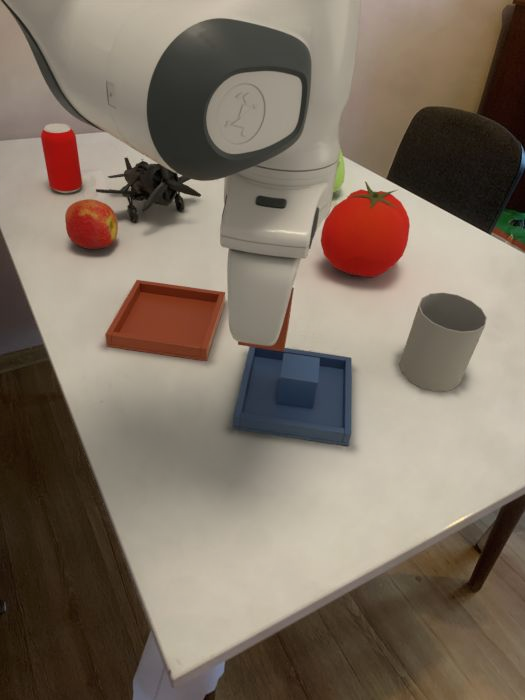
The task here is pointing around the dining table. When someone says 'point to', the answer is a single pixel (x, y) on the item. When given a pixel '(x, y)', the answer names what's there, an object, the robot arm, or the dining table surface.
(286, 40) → the robot arm
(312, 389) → the blue block
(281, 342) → the rust block
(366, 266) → the tomato
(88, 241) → the apple
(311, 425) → the blue tray
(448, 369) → the cup
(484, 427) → the dining table surface
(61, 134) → the beverage can
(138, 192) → the airplane toy
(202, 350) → the rust tray
